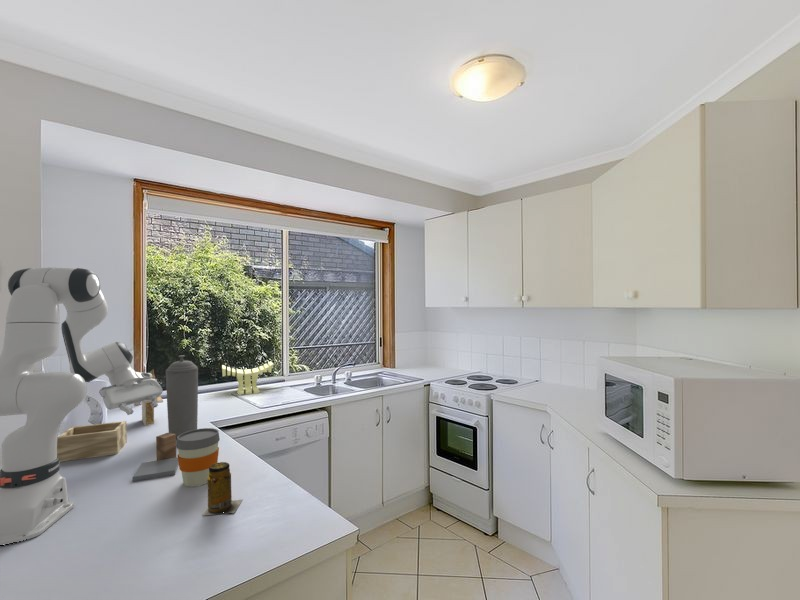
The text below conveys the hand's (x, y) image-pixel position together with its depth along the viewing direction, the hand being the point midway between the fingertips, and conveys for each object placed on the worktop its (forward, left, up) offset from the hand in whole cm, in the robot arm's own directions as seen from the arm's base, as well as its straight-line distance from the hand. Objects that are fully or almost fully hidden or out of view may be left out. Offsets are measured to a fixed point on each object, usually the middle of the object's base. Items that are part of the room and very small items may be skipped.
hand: (143, 410), depth 148 cm
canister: (+19, -11, -17) cm, 28 cm away
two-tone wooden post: (+48, +7, -18) cm, 52 cm away
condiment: (-55, -30, -17) cm, 65 cm away
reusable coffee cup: (-33, -22, -17) cm, 43 cm away
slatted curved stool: (+95, -38, -17) cm, 104 cm away
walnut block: (-9, -9, -17) cm, 21 cm away
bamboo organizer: (+12, +19, -17) cm, 28 cm away
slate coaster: (-19, -8, -17) cm, 27 cm away
